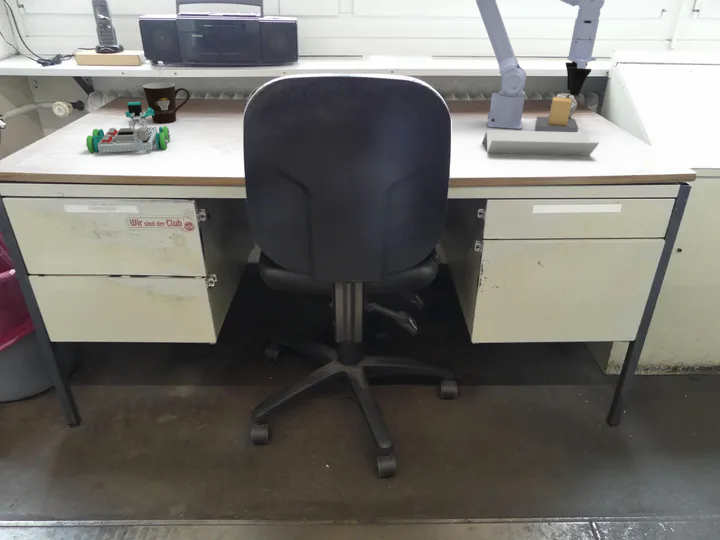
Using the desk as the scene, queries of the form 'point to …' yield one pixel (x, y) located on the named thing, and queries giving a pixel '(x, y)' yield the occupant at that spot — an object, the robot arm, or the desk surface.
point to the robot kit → (129, 134)
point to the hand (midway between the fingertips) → (572, 92)
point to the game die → (573, 103)
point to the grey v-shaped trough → (538, 142)
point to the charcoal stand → (555, 125)
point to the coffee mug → (163, 101)
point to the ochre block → (560, 110)
